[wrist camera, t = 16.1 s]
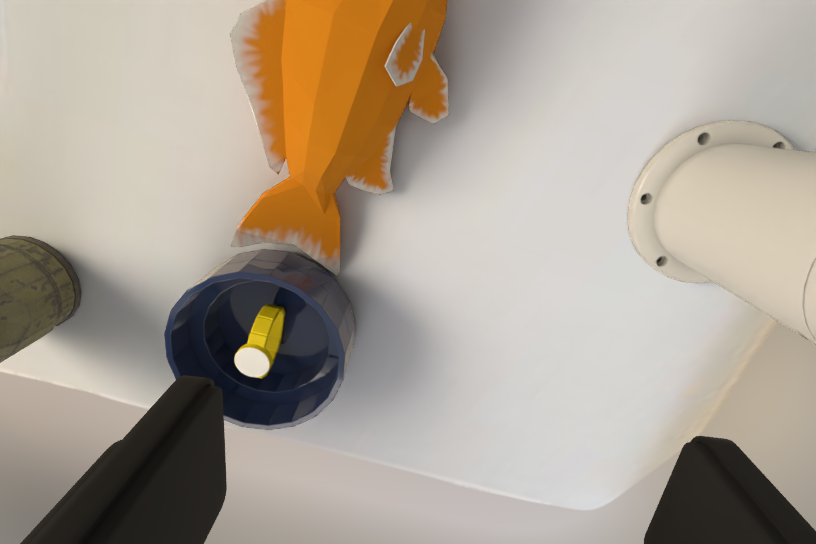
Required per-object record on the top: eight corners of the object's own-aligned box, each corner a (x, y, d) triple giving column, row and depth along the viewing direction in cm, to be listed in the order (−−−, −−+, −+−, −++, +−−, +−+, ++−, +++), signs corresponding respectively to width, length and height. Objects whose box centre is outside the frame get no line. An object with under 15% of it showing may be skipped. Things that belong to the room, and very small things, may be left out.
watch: (265, 291, 38) (238, 323, 33) (296, 298, 38) (274, 331, 33) (256, 349, 40) (229, 388, 35) (286, 356, 41) (264, 396, 35)
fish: (551, -75, 24) (268, -248, 19) (380, 308, 37) (184, 268, 31) (506, -67, 29) (278, -199, 24) (371, 264, 42) (203, 224, 37)
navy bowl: (361, 258, 38) (350, 285, 32) (350, 394, 42) (338, 438, 37) (197, 238, 37) (157, 262, 32) (205, 377, 42) (171, 418, 37)
